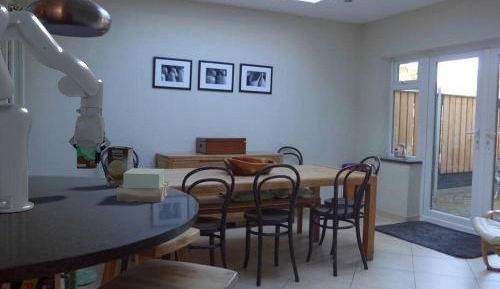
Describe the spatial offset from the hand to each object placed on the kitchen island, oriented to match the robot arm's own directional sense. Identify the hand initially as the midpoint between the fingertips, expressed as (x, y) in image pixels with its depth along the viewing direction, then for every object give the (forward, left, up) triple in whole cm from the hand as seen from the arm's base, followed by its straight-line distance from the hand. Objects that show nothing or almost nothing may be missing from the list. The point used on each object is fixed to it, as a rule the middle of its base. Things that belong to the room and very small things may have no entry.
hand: (89, 162), depth 160 cm
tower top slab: (-2, -21, -7) cm, 22 cm away
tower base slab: (-2, -20, -12) cm, 24 cm away
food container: (0, -1, -2) cm, 2 cm away
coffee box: (+23, -5, -12) cm, 26 cm away
